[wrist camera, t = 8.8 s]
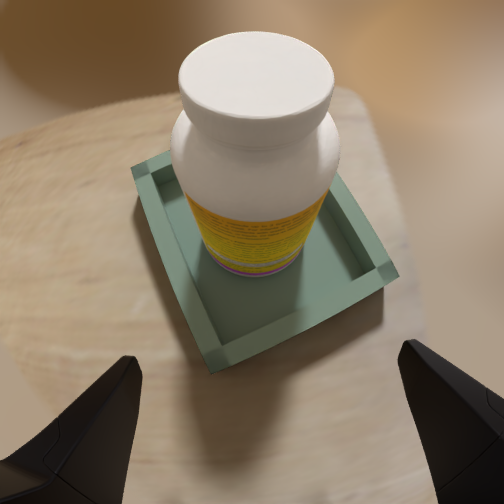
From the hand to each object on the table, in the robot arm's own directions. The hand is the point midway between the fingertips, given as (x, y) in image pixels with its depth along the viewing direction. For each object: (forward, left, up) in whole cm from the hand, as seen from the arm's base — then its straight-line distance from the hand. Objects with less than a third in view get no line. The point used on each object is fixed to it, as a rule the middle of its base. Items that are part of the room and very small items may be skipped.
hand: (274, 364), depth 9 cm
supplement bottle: (+8, -3, -9) cm, 12 cm away
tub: (+8, -3, -9) cm, 12 cm away
